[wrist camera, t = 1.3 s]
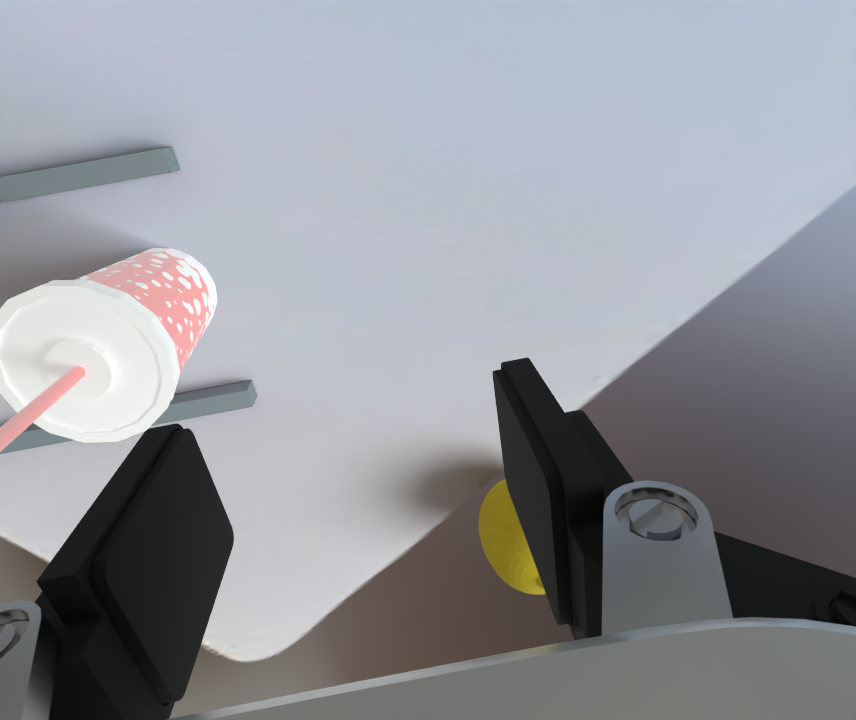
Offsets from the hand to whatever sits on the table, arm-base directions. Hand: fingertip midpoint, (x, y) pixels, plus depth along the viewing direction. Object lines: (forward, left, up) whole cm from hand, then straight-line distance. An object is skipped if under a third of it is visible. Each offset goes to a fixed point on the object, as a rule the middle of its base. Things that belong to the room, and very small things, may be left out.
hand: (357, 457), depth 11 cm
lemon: (-6, +16, -18) cm, 25 cm away
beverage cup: (+10, 0, -18) cm, 20 cm away
